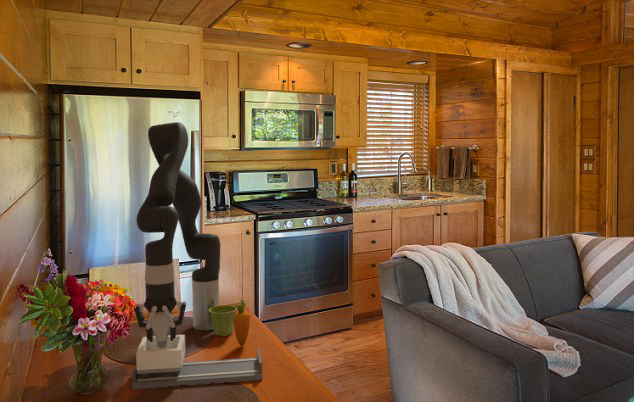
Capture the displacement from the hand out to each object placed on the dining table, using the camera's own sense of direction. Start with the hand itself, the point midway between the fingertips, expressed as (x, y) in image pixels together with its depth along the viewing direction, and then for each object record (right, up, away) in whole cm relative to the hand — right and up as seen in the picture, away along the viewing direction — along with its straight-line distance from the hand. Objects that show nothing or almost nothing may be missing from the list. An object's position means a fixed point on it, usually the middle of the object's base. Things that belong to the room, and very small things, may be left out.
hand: (161, 340), depth 141 cm
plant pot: (+11, -7, +35) cm, 37 cm away
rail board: (+10, -10, +3) cm, 15 cm away
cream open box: (0, -9, +1) cm, 9 cm away
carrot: (+19, -9, +23) cm, 31 cm away
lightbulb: (0, -3, 0) cm, 3 cm away
